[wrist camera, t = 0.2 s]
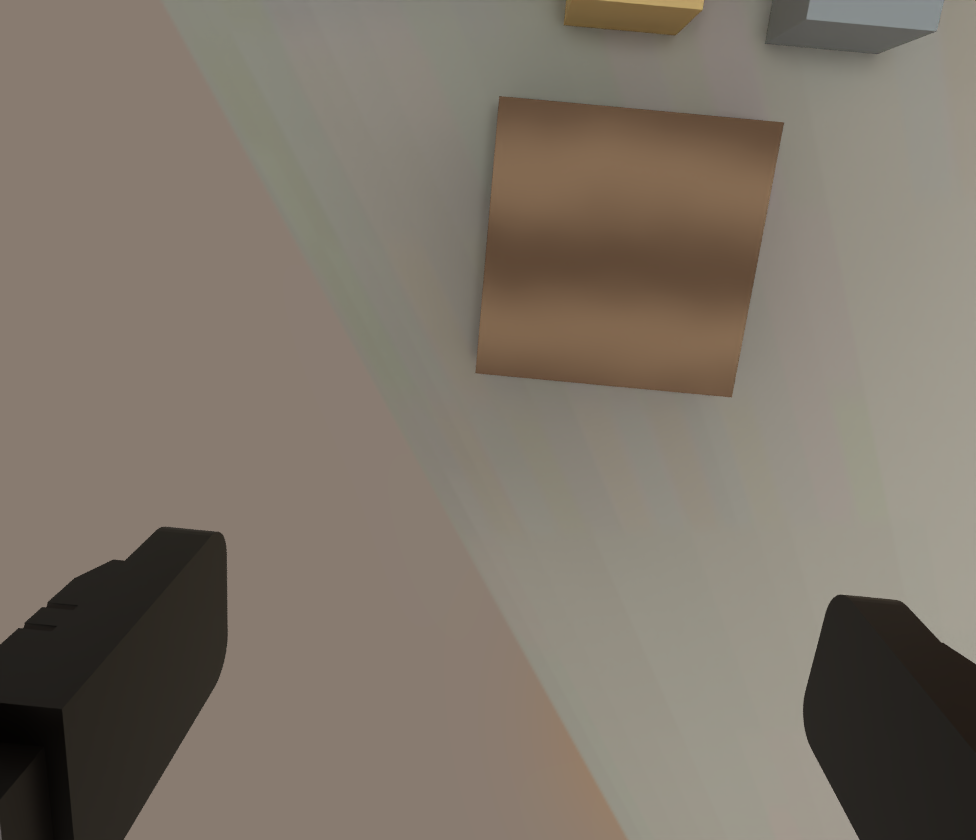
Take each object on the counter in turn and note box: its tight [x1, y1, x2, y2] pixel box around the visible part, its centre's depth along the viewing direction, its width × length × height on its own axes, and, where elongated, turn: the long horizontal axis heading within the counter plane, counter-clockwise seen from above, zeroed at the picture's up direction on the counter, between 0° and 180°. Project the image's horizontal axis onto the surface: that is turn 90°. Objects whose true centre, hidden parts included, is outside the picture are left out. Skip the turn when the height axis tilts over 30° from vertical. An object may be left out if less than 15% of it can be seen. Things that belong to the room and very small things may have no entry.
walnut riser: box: [476, 96, 784, 397], centre depth 35 cm, size 12×12×3 cm
